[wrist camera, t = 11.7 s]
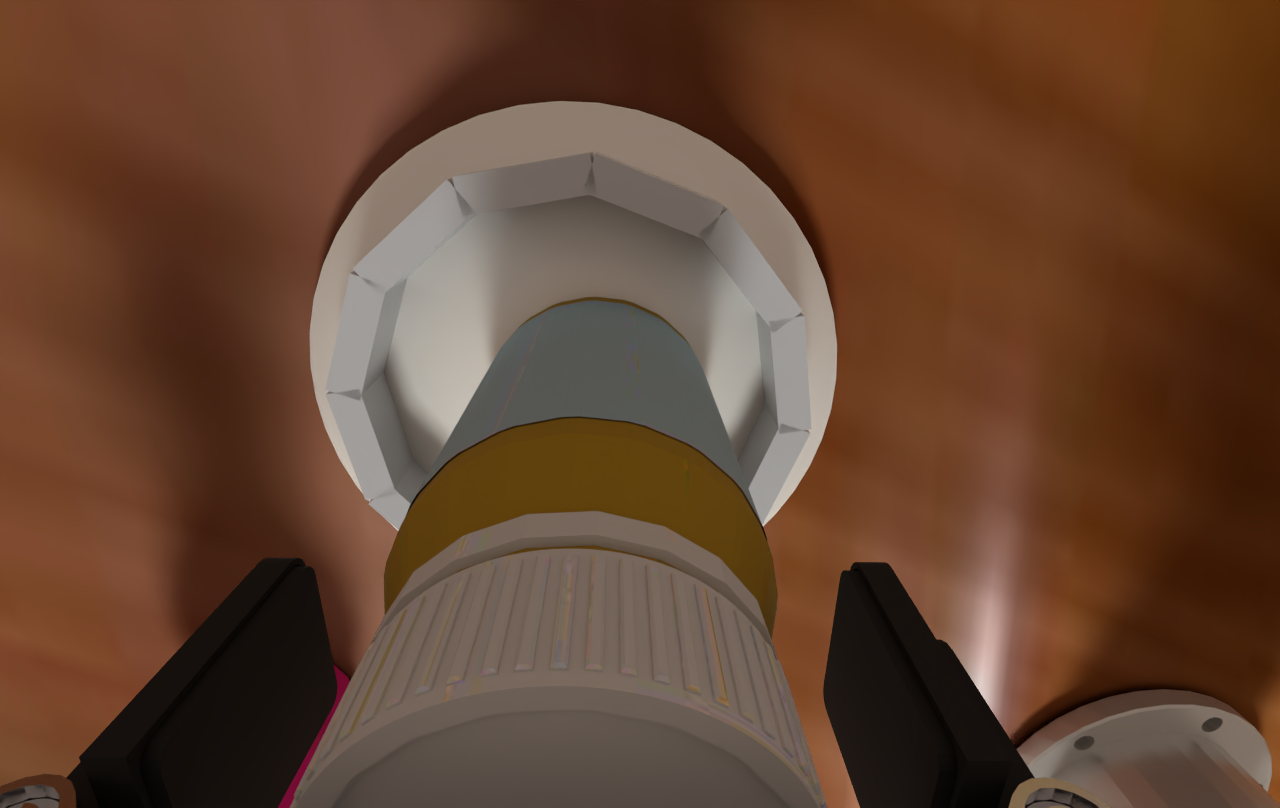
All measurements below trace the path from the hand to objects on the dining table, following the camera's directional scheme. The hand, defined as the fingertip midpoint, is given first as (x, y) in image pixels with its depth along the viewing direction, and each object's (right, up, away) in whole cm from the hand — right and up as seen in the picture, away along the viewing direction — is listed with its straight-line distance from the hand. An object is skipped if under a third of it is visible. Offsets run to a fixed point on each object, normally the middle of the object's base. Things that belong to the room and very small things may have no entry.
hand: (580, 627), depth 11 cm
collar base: (-1, +5, +10) cm, 12 cm away
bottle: (0, +4, +10) cm, 11 cm away
